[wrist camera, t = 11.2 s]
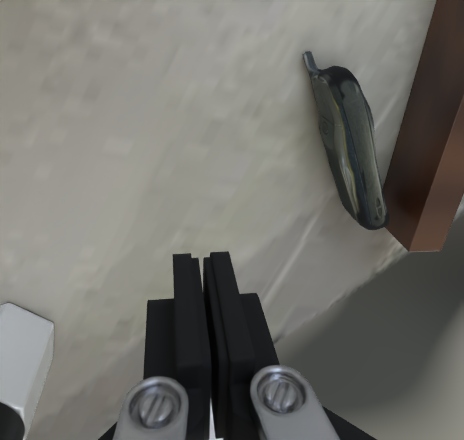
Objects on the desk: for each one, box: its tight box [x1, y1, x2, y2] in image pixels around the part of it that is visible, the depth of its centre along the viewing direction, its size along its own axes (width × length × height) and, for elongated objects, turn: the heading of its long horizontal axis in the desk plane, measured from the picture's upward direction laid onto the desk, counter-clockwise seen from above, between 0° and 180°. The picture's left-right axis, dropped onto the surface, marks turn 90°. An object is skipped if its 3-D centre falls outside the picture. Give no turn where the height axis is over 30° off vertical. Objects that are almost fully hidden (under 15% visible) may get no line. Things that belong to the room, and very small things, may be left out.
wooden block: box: [383, 0, 464, 252], centre depth 29 cm, size 24×3×6 cm, turn 176°
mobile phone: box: [303, 51, 389, 230], centre depth 30 cm, size 5×3×15 cm
